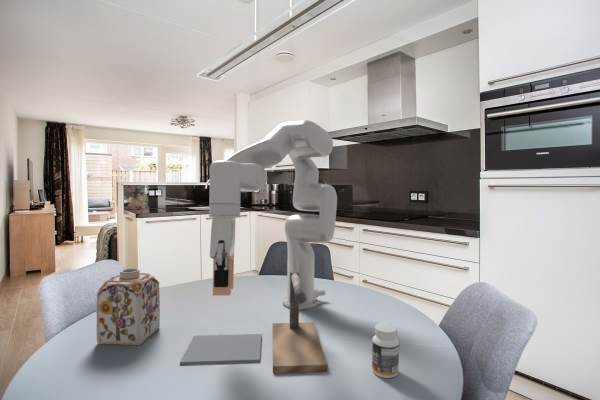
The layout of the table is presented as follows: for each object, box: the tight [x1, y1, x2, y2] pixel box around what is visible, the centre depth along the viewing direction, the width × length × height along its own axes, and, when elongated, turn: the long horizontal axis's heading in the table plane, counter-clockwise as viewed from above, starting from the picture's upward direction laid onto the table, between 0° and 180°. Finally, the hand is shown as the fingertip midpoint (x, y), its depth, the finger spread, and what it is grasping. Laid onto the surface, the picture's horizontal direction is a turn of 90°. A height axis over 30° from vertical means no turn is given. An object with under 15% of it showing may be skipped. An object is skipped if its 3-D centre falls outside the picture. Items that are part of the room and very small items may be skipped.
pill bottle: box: [371, 323, 400, 379], centre depth 74 cm, size 6×6×10 cm
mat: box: [179, 333, 262, 365], centre depth 84 cm, size 18×14×1 cm
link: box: [212, 252, 235, 296], centre depth 83 cm, size 7×4×10 cm, turn 5°
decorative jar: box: [96, 267, 161, 346], centre depth 91 cm, size 12×12×18 cm
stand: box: [272, 271, 328, 374], centre depth 85 cm, size 12×24×17 cm, turn 5°
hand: (223, 282), depth 83 cm, fingers closed on link, 7 cm apart
